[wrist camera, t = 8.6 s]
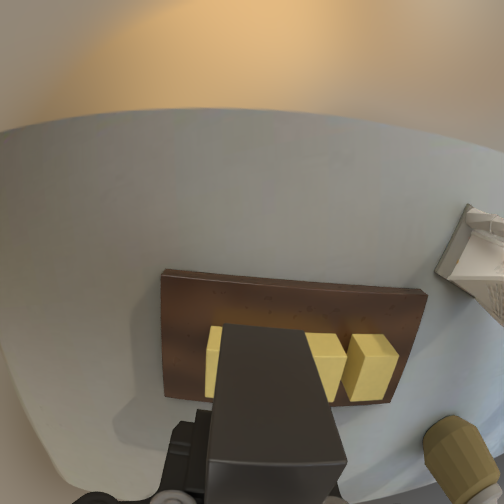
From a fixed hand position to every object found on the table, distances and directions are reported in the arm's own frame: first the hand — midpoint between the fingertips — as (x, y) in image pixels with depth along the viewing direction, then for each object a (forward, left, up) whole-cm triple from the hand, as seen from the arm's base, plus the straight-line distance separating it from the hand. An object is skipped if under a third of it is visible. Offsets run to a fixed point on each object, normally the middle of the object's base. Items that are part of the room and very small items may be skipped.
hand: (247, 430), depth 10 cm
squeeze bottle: (+19, +28, -15) cm, 37 cm away
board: (+5, +5, -15) cm, 17 cm away
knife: (+5, 0, 0) cm, 5 cm away
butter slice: (+5, +10, -14) cm, 18 cm away
